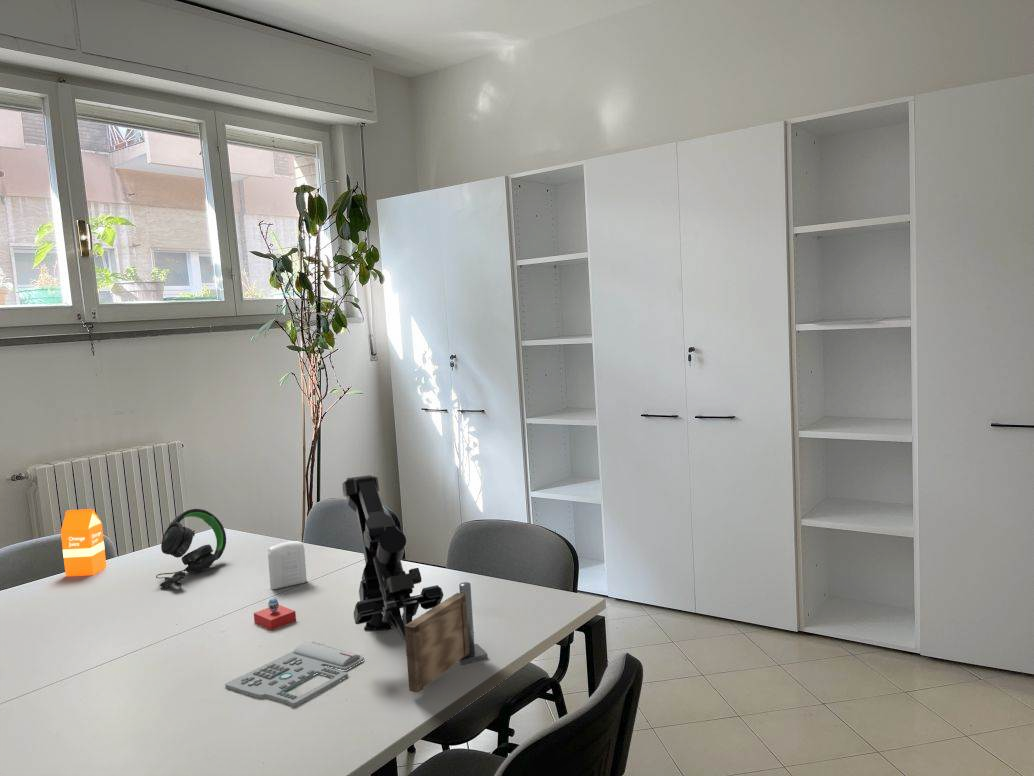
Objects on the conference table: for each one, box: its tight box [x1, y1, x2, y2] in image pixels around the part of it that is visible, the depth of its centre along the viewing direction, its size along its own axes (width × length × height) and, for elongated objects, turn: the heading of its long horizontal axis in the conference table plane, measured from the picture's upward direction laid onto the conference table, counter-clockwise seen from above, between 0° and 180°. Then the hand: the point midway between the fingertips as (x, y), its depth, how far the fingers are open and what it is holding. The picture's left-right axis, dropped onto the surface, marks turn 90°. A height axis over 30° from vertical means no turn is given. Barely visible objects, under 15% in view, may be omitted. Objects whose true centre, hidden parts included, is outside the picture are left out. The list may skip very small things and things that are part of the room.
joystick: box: [253, 597, 297, 631], centre depth 191 cm, size 8×7×6 cm
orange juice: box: [60, 508, 107, 577], centre depth 241 cm, size 8×9×20 cm
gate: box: [404, 592, 470, 693], centre depth 155 cm, size 18×2×13 cm, turn 151°
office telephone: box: [224, 641, 365, 708], centre depth 161 cm, size 23×3×20 cm
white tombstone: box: [267, 540, 308, 590], centre depth 218 cm, size 10×4×12 cm, turn 123°
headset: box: [155, 508, 227, 589], centre depth 232 cm, size 18×14×29 cm
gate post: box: [458, 581, 489, 666], centre depth 164 cm, size 6×6×16 cm
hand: (408, 641), depth 160 cm, fingers closed
